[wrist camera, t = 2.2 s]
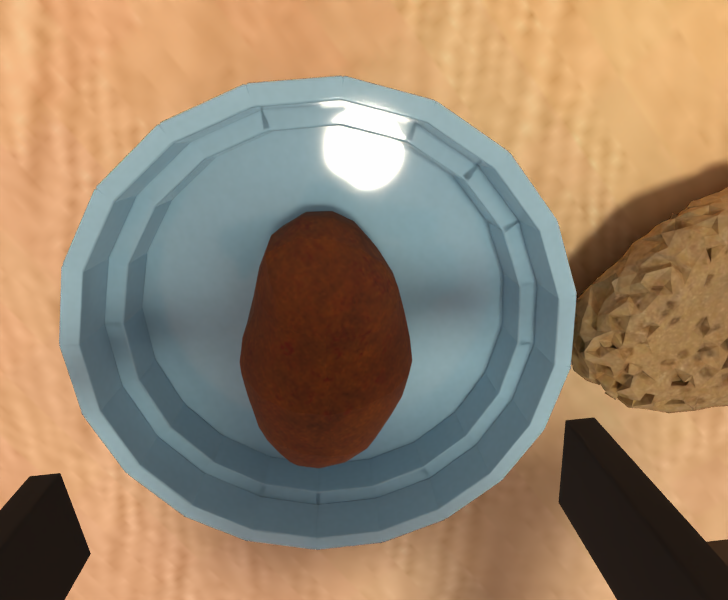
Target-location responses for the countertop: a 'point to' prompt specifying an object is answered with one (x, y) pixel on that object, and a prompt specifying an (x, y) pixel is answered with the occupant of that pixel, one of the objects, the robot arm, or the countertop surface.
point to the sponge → (662, 316)
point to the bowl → (236, 290)
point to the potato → (324, 341)
